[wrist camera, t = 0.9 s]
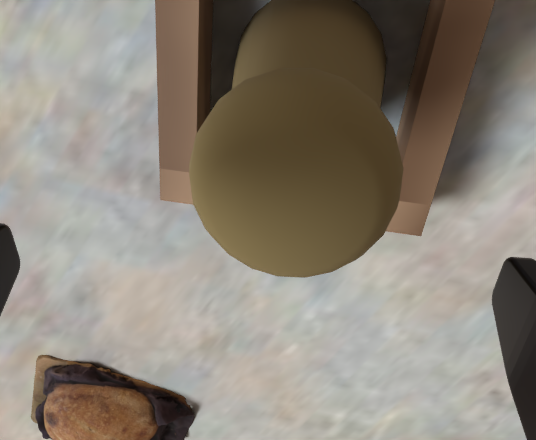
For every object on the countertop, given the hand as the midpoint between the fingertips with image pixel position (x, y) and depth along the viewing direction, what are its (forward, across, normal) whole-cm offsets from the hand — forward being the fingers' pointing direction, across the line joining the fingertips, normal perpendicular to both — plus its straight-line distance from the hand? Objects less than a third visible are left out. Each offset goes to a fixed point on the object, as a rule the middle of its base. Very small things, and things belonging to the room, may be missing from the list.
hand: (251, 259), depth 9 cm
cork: (+13, -1, +1) cm, 13 cm away
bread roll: (+14, +10, +24) cm, 30 cm away
